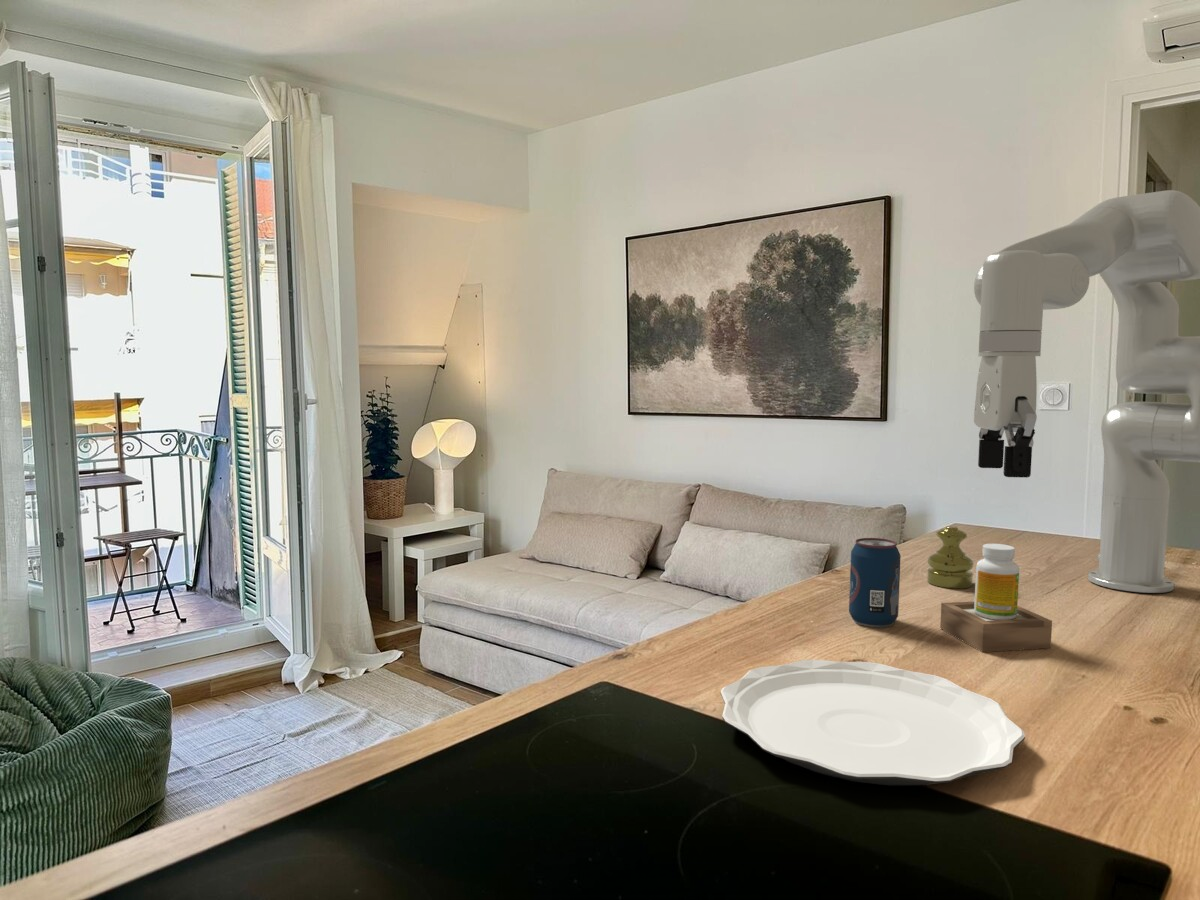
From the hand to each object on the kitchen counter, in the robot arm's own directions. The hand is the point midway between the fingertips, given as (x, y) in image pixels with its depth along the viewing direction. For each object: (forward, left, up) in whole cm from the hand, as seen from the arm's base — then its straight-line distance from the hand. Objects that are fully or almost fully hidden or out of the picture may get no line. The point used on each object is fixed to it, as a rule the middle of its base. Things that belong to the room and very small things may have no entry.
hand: (1003, 472), depth 114 cm
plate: (+32, -24, -24) cm, 47 cm away
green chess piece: (-30, +3, -24) cm, 38 cm away
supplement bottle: (0, 0, -20) cm, 20 cm away
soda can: (-6, -15, -24) cm, 28 cm away
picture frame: (0, 0, -23) cm, 23 cm away
